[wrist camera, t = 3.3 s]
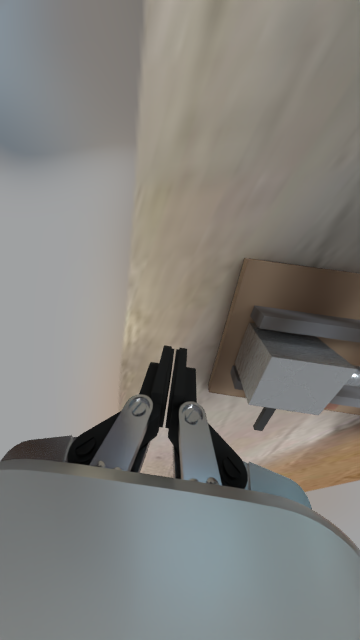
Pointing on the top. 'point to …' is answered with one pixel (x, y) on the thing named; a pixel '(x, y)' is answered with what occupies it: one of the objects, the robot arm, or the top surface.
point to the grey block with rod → (290, 372)
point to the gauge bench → (292, 318)
